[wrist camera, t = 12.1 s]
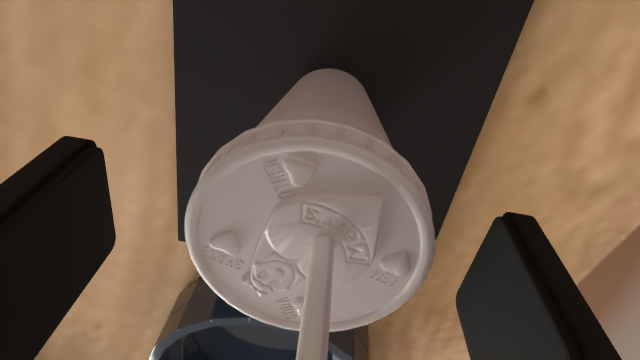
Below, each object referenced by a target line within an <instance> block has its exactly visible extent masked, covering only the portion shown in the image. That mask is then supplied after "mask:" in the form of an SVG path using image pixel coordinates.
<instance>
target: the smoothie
mask: <svg viewBox="0 0 640 360" xmlns="http://www.w3.org/2000/svg"><path fill="white" fill-rule="evenodd" d="M184 231H185V240H186V244H187V249H188V252H189V254H190V257H191V259H192V262H193V264H194V266H195V268H196V269H197V271H198V272H199V274H200V276H201V277H202V278H203V280H204V281H205V282H206V283H207V284H208V286H209V287H210V288H211V289H212V290H213V291H214V292H215V293H216V294H217V295H218V296H219V297H221V298H222V299H223V300H224V301H225V302H227V303H228V304H229V305H231V306H233V307H234V308H236V309H237V310H239V311H240V312H242V313H244V314H245V315H248V316H250V317H252V318H254V319H257V320H259V321H261V322H263V323H266V324H270V325H273V326H277V327H280V328H284V329H290V330H296V331H300V333H299V340H298V347H297V354H296V360H327V356H328V340H329V332H333V331H342V330H348V329H352V328H356V327H360V326H364V325H367V324H369V323H372V322H374V321H377V320H379V319H381V318H384V317H385V316H387V315H389V314H390V313H392V312H394V311H395V310H397V309H398V308H399V307H401V306H402V305H403V304H404V303H406V302H407V301H408V300H409V299H410V298H411V297H412V296H413V295H414V294H415V293H416V291H417V290H418V289H419V288H420V286H421V285H422V283H423V282H424V280H425V278H426V277H427V274H428V272H429V270H430V267H431V264H432V261H433V257H434V251H435V232H434V226H433V221H432V211H431V208H430V204H429V200H428V197H427V193H426V189H425V186H424V185H423V183H422V182H421V180H420V179H419V177H418V176H417V174H416V173H415V171H414V170H413V168H412V167H411V165H410V164H409V162H408V161H407V160H406V159H404V158H403V157H402V156H401V155H400V154H398V153H397V152H396V151H395V150H394V149H393V148H392V146H391V144H390V141H389V139H388V137H387V135H386V133H385V131H384V129H383V127H382V125H381V122H380V120H379V118H378V116H377V114H376V112H375V110H374V108H373V105H372V103H371V101H370V99H369V97H368V95H367V93H366V91H365V89H364V87H363V86H362V85H361V83H360V82H359V81H358V80H357V79H356V78H355V77H353V76H352V75H350V74H348V73H346V72H344V71H341V70H337V69H330V68H326V69H319V70H315V71H312V72H310V73H308V74H306V75H305V76H303V77H302V78H301V79H300V80H299V81H298V82H297V83H296V84H295V85H294V86H293V87H292V89H291V90H290V91H289V92H288V93H287V94H286V95H285V96H284V97H283V98H282V99H281V101H280V102H279V103H278V104H277V105H276V106H275V107H274V108H273V109H272V110H271V112H270V113H269V114H268V115H267V116H266V117H265V118H264V119H263V120H262V121H261V122H260V124H259V125H258V126H257V127H256V128H253V129H250V130H247V131H245V132H243V133H242V134H240V135H239V136H237V137H236V138H234V139H233V140H231V141H230V142H228V143H227V144H225V145H224V146H222V147H221V148H220V149H219V150H218V151H217V153H216V154H215V155H214V156H213V158H212V159H211V160H210V161H209V163H208V164H207V165H206V166H205V168H204V169H203V170H202V172H201V175H200V178H199V181H198V184H197V185H196V187H195V189H194V191H193V192H192V195H191V197H190V199H189V202H188V205H187V209H186V214H185V223H184Z"/></svg>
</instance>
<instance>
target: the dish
mask: <svg viewBox="0 0 640 360" xmlns="http://www.w3.org/2000/svg"><path fill="white" fill-rule="evenodd" d="M299 333H300V331H296V330H290V329H284V328H280V327H277V326H273V325H270V324H266V323H263V322H261V321H259V320H257V319H254V318H252V317H250V316H248V315H245V314H244V313H242V312H240V311H239V310H237V309H236V308H234V307H233V306H231V305H229V304H228V303H227V302H225V301H224V300H223V299H222V298H221V297H219V296H218V295H217V294H216V293H215V292H214V291H213V290H212V289H211V288H210V287H209V286H208V284H207V283H206V282H205V281H204V280H203V278H202V277H201V278H199V279H198V280H197V281H195V282H194V283H193V284H192V285H190V286H189V287H188V288H187V289H186V290H184V291H183V292H182V293H181V294H180V295H179V297H178V299H177V301H176V303H175V305H174V307H173V309H172V311H171V313H170V315H169V317H168V319H167V321H166V323H165V326H164V328H163V330H162V332H161V334H160V336H159V338H158V340H157V342H156V344H155V346H154V348H153V350H152V352H151V354H150V357H149V359H148V360H296V354H297V347H298V340H299ZM327 360H371V347H370V339H369V332H368V326H367V325H364V326H360V327H356V328H352V329H348V330H342V331H333V332H329V340H328V356H327Z"/></svg>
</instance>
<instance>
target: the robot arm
mask: <svg viewBox="0 0 640 360" xmlns="http://www.w3.org/2000/svg"><path fill="white" fill-rule="evenodd" d="M115 239H116V234H115V227H114V221H113V214H112V207H111V200H110V193H109V187H108V180H107V173H106V166H105V159H104V154H103V151H102V149H101V148H97V146H96V144H95V142H94V141H92V140H88V139H82V138H76V137H70V136H64V137H62V138H60V139H59V140H58V141H56V142H55V143H54V144H52V145H51V146H50V147H49V148H47V149H46V150H45V151H43V152H42V153H41V154H39V155H38V156H37V157H35V158H34V159H33V160H32V161H30V162H29V163H28V164H26V165H25V166H24V167H22V168H21V169H20V170H18V171H17V172H16V173H15V174H13V175H12V176H11V177H9V178H8V179H7V180H5V181H4V182H3V183H1V184H0V360H34V358H35V357H36V356H37V354H38V353H39V351H40V350H41V349H42V347H43V346H44V344H45V343H46V342H47V340H48V339H49V337H50V336H51V335H52V333H53V332H54V330H55V329H56V328H57V326H58V325H59V323H60V322H61V321H62V319H63V318H64V316H65V315H66V314H67V312H68V311H69V310H70V308H71V307H72V305H73V304H74V303H75V301H76V300H77V298H78V297H79V296H80V294H81V293H82V291H83V290H84V289H85V287H86V286H87V284H88V283H89V282H90V280H91V279H92V277H93V276H94V275H95V273H96V272H97V270H98V269H99V268H100V266H101V265H102V263H103V262H104V261H105V259H106V258H107V256H108V255H109V254H110V252H111V251H112V249H113V247H114V244H115ZM456 308H457V311H458V315H459V319H460V322H461V326H462V330H463V333H464V337H465V341H466V344H467V348H468V352H469V355H470V359H471V360H622V359H621V358H620V356H619V354H618V353H617V351H616V350H615V348H614V346H613V345H612V343H611V342H610V340H609V338H608V337H607V335H606V333H605V332H604V330H603V329H602V327H601V325H600V324H599V322H598V320H597V319H596V317H595V315H594V314H593V312H592V310H591V309H590V307H589V306H588V304H587V302H586V301H585V299H584V298H583V296H582V294H581V293H580V291H579V290H578V288H577V286H576V284H575V283H574V281H573V279H572V278H571V276H570V275H569V273H568V271H567V270H566V268H565V266H564V265H563V263H562V262H561V260H560V258H559V257H558V255H557V253H556V252H555V250H554V248H553V247H552V245H551V244H550V242H549V240H548V239H547V237H546V235H545V234H544V232H543V231H542V229H541V227H540V226H539V224H538V222H537V221H536V219H535V218H534V217H532V216H529V215H523V214H518V213H512V212H506V213H505V214H504V215H503V216H502V217H500V216H499V217H496V218H495V220H494V221H493V223H492V225H491V227H490V229H489V231H488V233H487V235H486V237H485V239H484V241H483V243H482V245H481V246H480V248H479V250H478V252H477V254H476V256H475V258H474V260H473V262H472V264H471V266H470V268H469V270H468V272H467V274H466V276H465V278H464V280H463V282H462V284H461V286H460V288H459V289H458V292H457V295H456Z"/></svg>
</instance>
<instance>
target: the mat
mask: <svg viewBox="0 0 640 360" xmlns="http://www.w3.org/2000/svg"><path fill="white" fill-rule="evenodd" d="M533 2H534V0H173V21H174V66H175V110H176V155H177V199H178V240H179V241H184V242H186V240H185V231H184V223H185V214H186V209H187V205H188V202H189V199H190V197H191V195H192V192H193V191H194V189H195V187H196V185H197V184H198V181H199V178H200V175H201V172H202V170H203V169H204V168H205V166H206V165H207V164H208V163H209V161H210V160H211V159H212V158H213V156H214V155H215V154H216V153H217V151H218V150H219V149H220V148H221V147H222V146H224V145H225V144H227V143H228V142H230V141H231V140H233V139H234V138H236V137H237V136H239V135H240V134H242V133H243V132H245V131H247V130H250V129H253V128H256V127H257V126H258V125H259V124H260V122H261V121H262V120H263V119H264V118H265V117H266V116H267V115H268V114H269V113H270V112H271V110H272V109H273V108H274V107H275V106H276V105H277V104H278V103H279V102H280V101H281V99H282V98H283V97H284V96H285V95H286V94H287V93H288V92H289V91H290V90H291V89H292V87H293V86H294V85H295V84H296V83H297V82H298V81H299V80H300V79H301V78H302V77H303V76H305V75H306V74H308V73H310V72H312V71H315V70H319V69H326V68H330V69H337V70H341V71H344V72H346V73H348V74H350V75H352V76H353V77H355V78H356V79H357V80H358V81H359V82H360V83H361V85H362V86H363V87H364V89H365V91H366V93H367V95H368V97H369V99H370V101H371V103H372V105H373V108H374V110H375V112H376V114H377V116H378V118H379V120H380V122H381V125H382V127H383V129H384V131H385V133H386V135H387V137H388V139H389V141H390V144H391V146H392V148H393V149H394V150H395V151H396V152H397V153H398V154H400V155H401V156H402V157H403V158H404V159H406V160H407V161H408V162H409V164H410V165H411V167H412V168H413V170H414V171H415V173H416V174H417V176H418V177H419V179H420V180H421V182H422V183H423V185H424V186H425V189H426V193H427V197H428V200H429V204H430V208H431V211H432V221H433V226H434V232H435V241H436V239H437V236H438V234H439V231H440V229H441V226H442V224H443V221H444V219H445V217H446V214H447V212H448V209H449V207H450V204H451V202H452V199H453V197H454V195H455V192H456V190H457V187H458V185H459V182H460V180H461V177H462V175H463V173H464V170H465V168H466V165H467V163H468V160H469V158H470V156H471V153H472V151H473V148H474V146H475V143H476V141H477V138H478V136H479V134H480V131H481V129H482V126H483V124H484V121H485V119H486V116H487V114H488V112H489V109H490V107H491V104H492V102H493V99H494V97H495V94H496V92H497V90H498V87H499V85H500V82H501V80H502V77H503V75H504V72H505V70H506V68H507V65H508V63H509V60H510V58H511V55H512V53H513V50H514V48H515V46H516V43H517V41H518V38H519V36H520V33H521V31H522V29H523V26H524V24H525V21H526V19H527V16H528V14H529V11H530V9H531V7H532V4H533Z"/></svg>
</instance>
